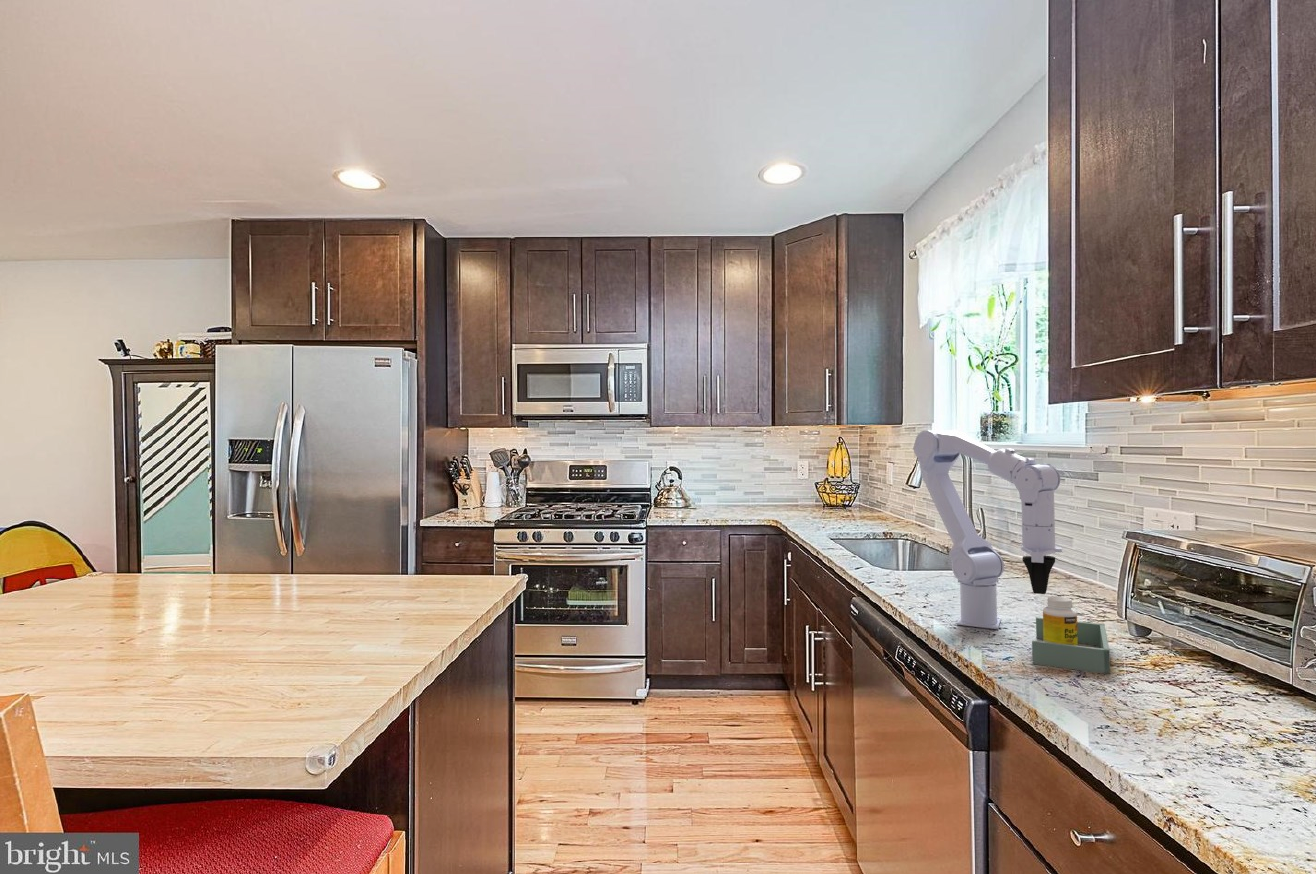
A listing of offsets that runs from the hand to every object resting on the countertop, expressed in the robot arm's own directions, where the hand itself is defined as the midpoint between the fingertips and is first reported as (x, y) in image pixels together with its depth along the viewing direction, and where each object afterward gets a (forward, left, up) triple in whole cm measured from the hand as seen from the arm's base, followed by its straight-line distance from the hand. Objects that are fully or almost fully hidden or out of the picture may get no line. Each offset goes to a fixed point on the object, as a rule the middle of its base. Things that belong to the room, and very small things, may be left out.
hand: (1039, 593), depth 136 cm
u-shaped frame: (+7, +5, -9) cm, 13 cm away
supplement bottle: (+7, +4, -10) cm, 12 cm away
